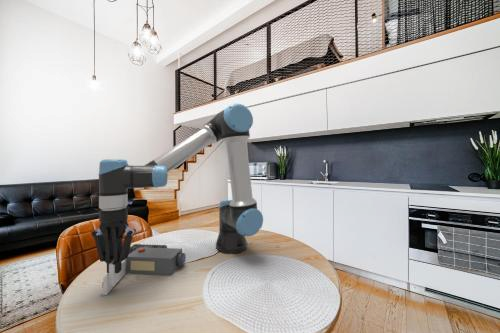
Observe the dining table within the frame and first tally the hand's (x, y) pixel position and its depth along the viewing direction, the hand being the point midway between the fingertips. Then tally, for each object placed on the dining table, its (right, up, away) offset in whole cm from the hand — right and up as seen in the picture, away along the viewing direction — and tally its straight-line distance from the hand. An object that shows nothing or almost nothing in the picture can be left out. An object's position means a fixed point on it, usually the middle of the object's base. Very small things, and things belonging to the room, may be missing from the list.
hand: (114, 282), depth 64 cm
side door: (-2, -2, +4) cm, 5 cm away
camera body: (+7, -3, +14) cm, 16 cm away
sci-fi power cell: (-2, -3, +25) cm, 25 cm away
